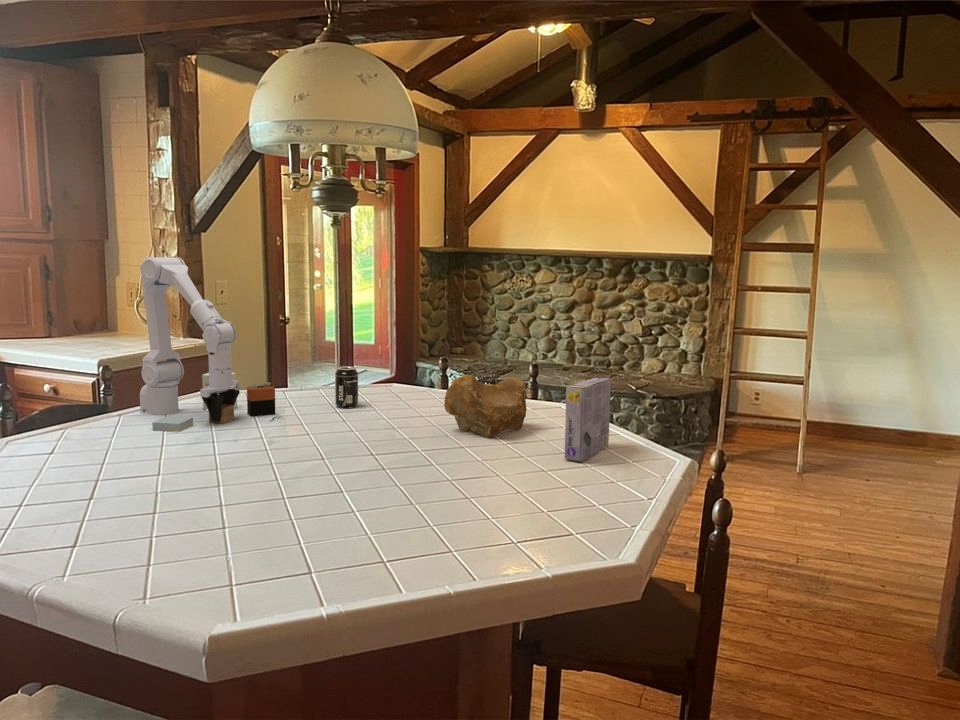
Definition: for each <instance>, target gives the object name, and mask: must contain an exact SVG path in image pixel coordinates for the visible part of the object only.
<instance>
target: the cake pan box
mask: <svg viewBox="0 0 960 720" xmlns="http://www.w3.org/2000/svg"><path fill="white" fill-rule="evenodd" d="M611 384H612V380H611V378H610V377H603V378H602V377H593V378H591V379H587V380H584V381H579V382H577V383H574V384H571V385H567V386H566V388H565V389H566V390H565V423H564V424H565V428H564V429H565V431H564V432H565V433H564V459H565V460H568V461H572V462H577V463H583V462H584V461H585V460H588V459H589V458H591V457H593V456H595V455H598V453H600V452H601V451H603V450H605V449H606V448H608V447H609V441H610V439H609V438H610V413H611V412H610V409H611V408H610V407H611Z"/></svg>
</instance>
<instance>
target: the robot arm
mask: <svg viewBox="0 0 960 720" xmlns="http://www.w3.org/2000/svg"><path fill="white" fill-rule="evenodd" d="M139 267H140V274H141V284H142V291H143V300H144V308H145V317H146V325H147V332H148V333H147V334H148V341H149V352H148V353H147V354H146V355H145V356H144V357H143V358H142V368H141V378H142V380H143V382H144V383H145V384H144V385H143V386H142V387H141V389H140V391H139V406H140V410H139V411H140V413H141V414H142V413H143V414H152V415H157V416H158V415H160V416H161V415H171V414H177V413H178V412H180V411H179V390H178V389H179V388H178V387H179V386H178V384H181V382H180V381H181V380H182V379H183V377H184V375H185V370H184V369H185V368H184V365H183V364H182V361H181V355H180V354H179V353H178V352H176V351H175V350H173V348H172V340H171V331H170V324H169V323H170V322H169V315H168V305H167V297H166V292H167V291H168V289H170V288H172V287H175V289H176V290H177V291H178V292H179V294H180V296H182V298H183V299H185V301H186V302H187V303H188V305H189V306H190V309H189V312H190V315H191V316H192V317H193V319H194V320H195V321H196V323H197V324H198V326H199V327H200V329H201V330H202V331H203V333H202V335H201V336H202V339H203V342H204V343H205V346H206V347H205V350H206V351H207V354H208V355H207V356H208V359H207V360H208V373H209V385H208V386H206V387H205V388H203V387H202V388H201V389H200V390H199V395H200V398H201V399H202V402H203V401H204V402H205V404H206V406H207V408H208V410H207V411H208V415H209V414H210V417H211V420H212V421H217V422H219V421H220V418H221V407H222V404H229V405H234V404H235V401H236V399H237V400H238V397H239V396H240V393H241V392H240V388H241V381H240V380H237V379H236V380H232V373H233V370H232V369H233V363H232V362H233V361H232V360H233V359H232V344H233V342H235V340H236V338H237V332H236V327H234V324H233V323H232V322H230V321H227V320H226V319H223V318H222V316H221V315H220V314H219V312H218V311H217V309H216V307H214V303H212V302H211V301H210V300H208V299H207V300H206V299H203V298H202V295H201V294H200V293H199V291H198V290H197V288H196V286H195V284H194V283H193V281H192V279H191V278H190V276H189V267H188V266H187V265H186V263H185V261H184V260H183V259H182V258H181V257H177V256H174V257H154V256H148V257H146V258H145V259H144V261H143V262H142V264H140V266H139ZM235 388H236V390H235ZM218 394H219V395H218Z"/></svg>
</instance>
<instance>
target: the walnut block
mask: <svg viewBox="0 0 960 720" xmlns="http://www.w3.org/2000/svg"><path fill="white" fill-rule="evenodd" d="M233 421H235V408H234V405H229V404H222V407H221V418H220V421H219V422H217V421H212V420H211V417H210V414H209V413H208V423H212V424H222V425H225V424H227V423H230V422H233Z"/></svg>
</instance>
